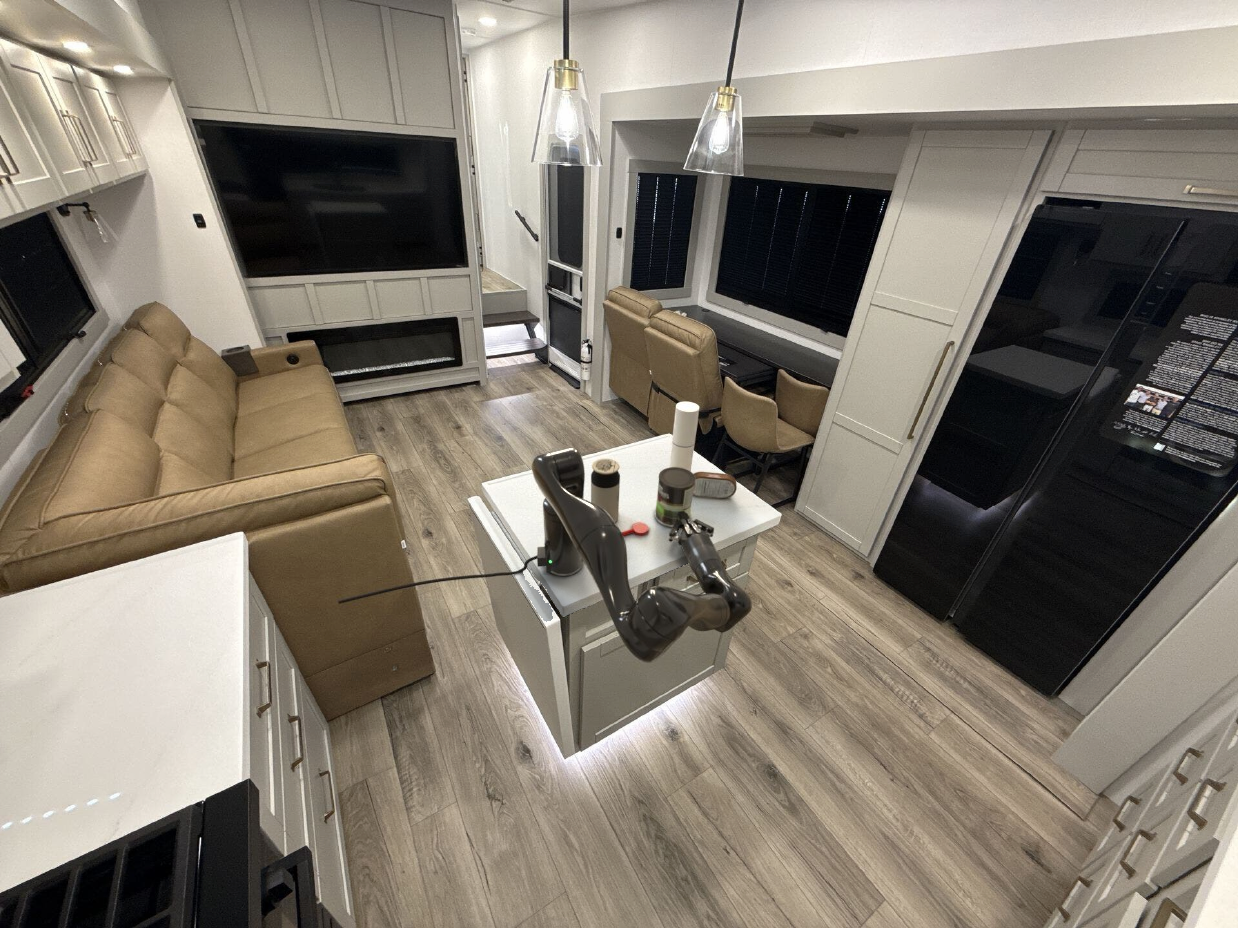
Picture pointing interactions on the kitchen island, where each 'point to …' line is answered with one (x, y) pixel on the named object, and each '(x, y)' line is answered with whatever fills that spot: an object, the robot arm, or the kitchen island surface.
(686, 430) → the cylindrical container
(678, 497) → the coffee can
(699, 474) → the tin
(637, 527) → the red spoon
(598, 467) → the travel mug
